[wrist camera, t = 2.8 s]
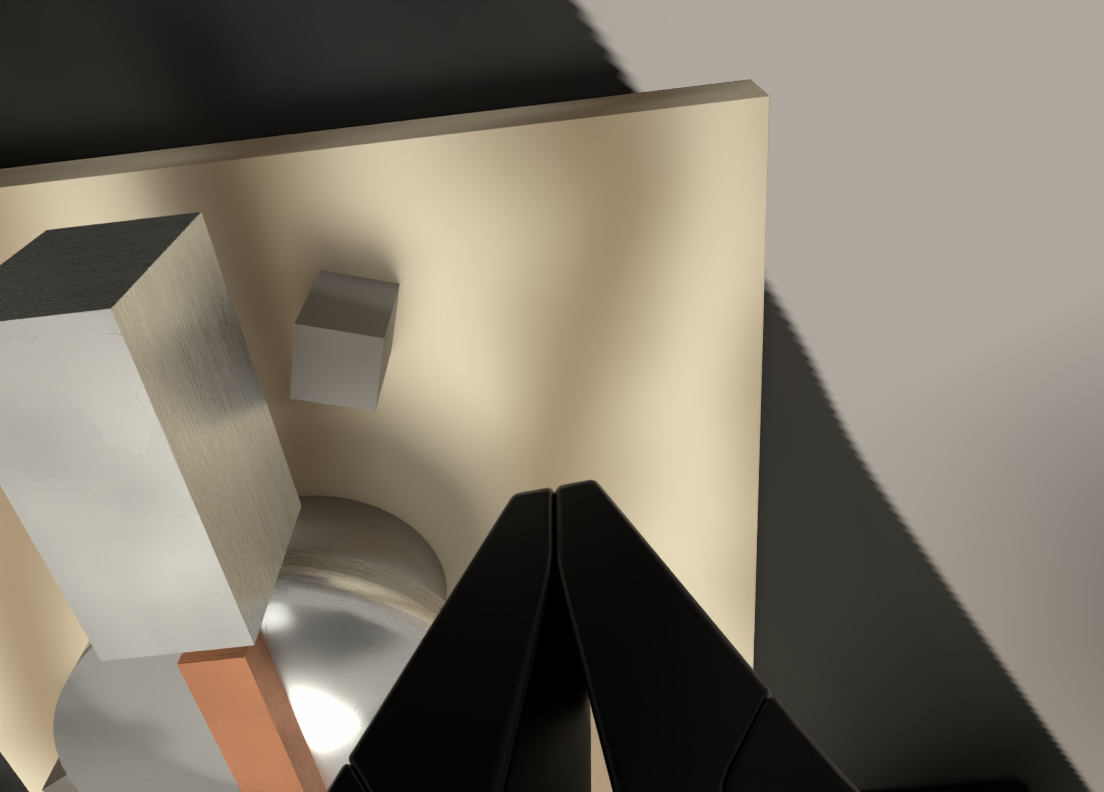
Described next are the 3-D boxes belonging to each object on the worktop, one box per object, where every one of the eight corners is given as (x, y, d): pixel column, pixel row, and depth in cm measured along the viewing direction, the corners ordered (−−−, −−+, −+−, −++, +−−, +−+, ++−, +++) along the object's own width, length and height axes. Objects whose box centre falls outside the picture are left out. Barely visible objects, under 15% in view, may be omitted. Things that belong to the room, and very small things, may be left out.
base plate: (750, 79, 17) (825, 144, 13) (739, 756, 28) (776, 904, 24) (-312, 206, 17) (-566, 307, 13) (101, 820, 29) (33, 975, 25)
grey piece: (526, 781, 21) (527, 928, 18) (177, 816, 22) (123, 967, 19) (405, 187, 13) (372, 278, 10) (-153, 253, 13) (-344, 360, 10)
